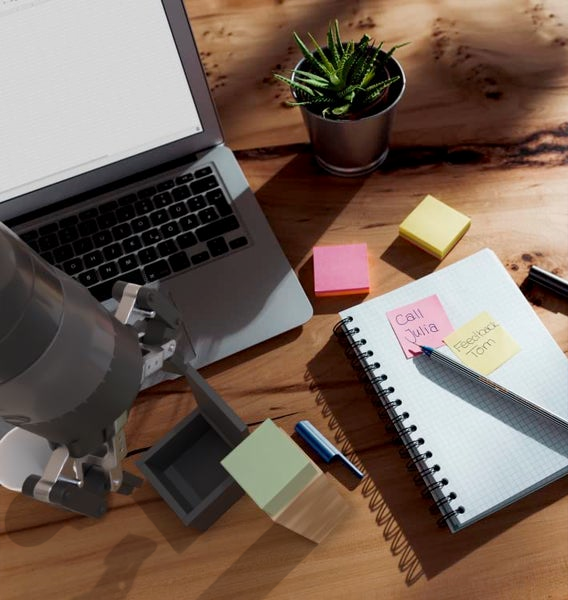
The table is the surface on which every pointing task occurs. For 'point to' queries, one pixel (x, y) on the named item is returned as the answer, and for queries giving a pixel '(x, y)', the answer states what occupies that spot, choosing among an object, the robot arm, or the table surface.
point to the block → (269, 467)
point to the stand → (313, 507)
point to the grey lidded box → (192, 471)
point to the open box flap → (216, 408)
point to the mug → (22, 457)
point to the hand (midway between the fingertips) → (153, 423)
